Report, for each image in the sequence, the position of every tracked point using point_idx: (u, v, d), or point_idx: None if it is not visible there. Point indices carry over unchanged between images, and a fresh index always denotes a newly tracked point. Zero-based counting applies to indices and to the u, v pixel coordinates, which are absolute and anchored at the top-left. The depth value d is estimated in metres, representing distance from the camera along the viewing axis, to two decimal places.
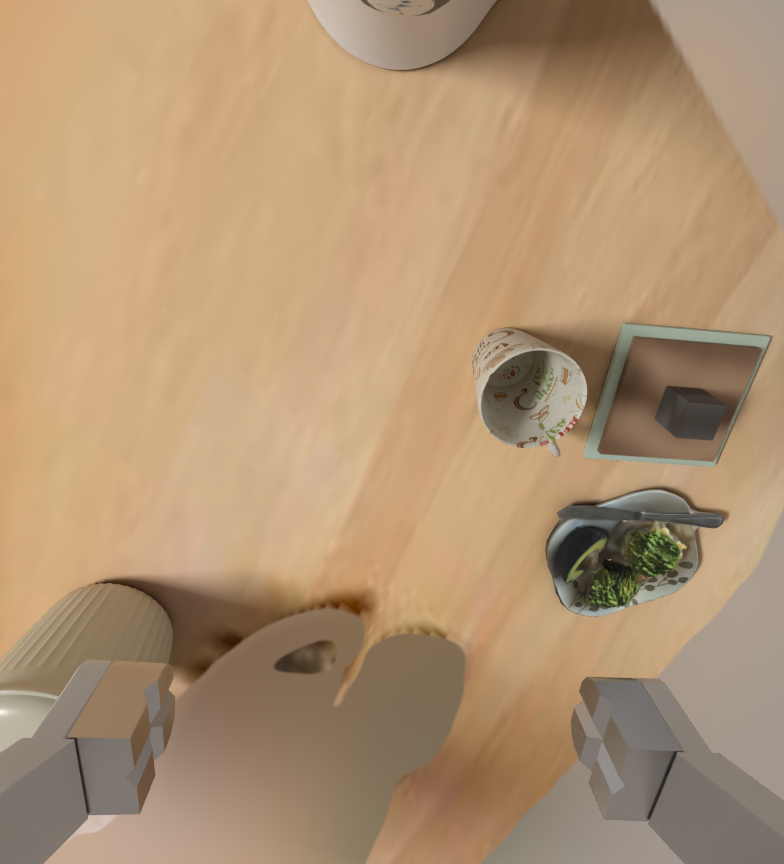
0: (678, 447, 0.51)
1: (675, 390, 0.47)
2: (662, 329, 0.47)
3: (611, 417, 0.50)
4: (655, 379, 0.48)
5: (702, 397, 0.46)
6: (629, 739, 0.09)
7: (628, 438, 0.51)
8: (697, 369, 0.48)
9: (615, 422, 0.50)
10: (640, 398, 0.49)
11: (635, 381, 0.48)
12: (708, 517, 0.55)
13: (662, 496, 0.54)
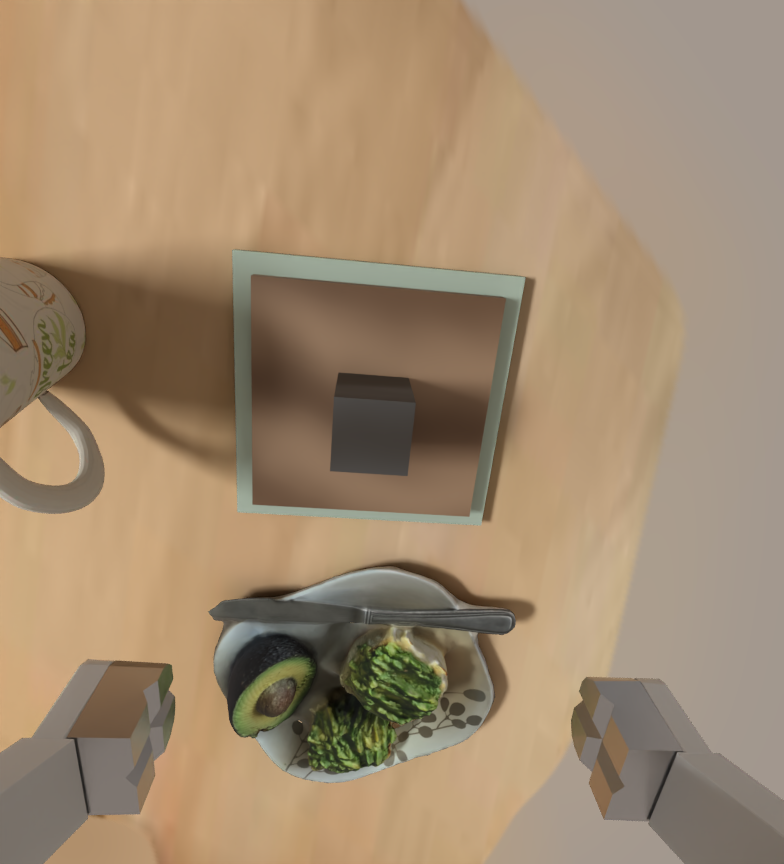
0: (397, 491, 0.28)
1: (342, 379, 0.24)
2: (308, 261, 0.24)
3: (252, 435, 0.26)
4: (314, 360, 0.25)
5: (381, 390, 0.23)
6: (629, 739, 0.09)
7: (297, 475, 0.27)
8: (389, 341, 0.25)
9: (261, 444, 0.27)
10: (295, 398, 0.26)
11: (274, 365, 0.25)
12: (487, 616, 0.31)
13: (395, 580, 0.30)
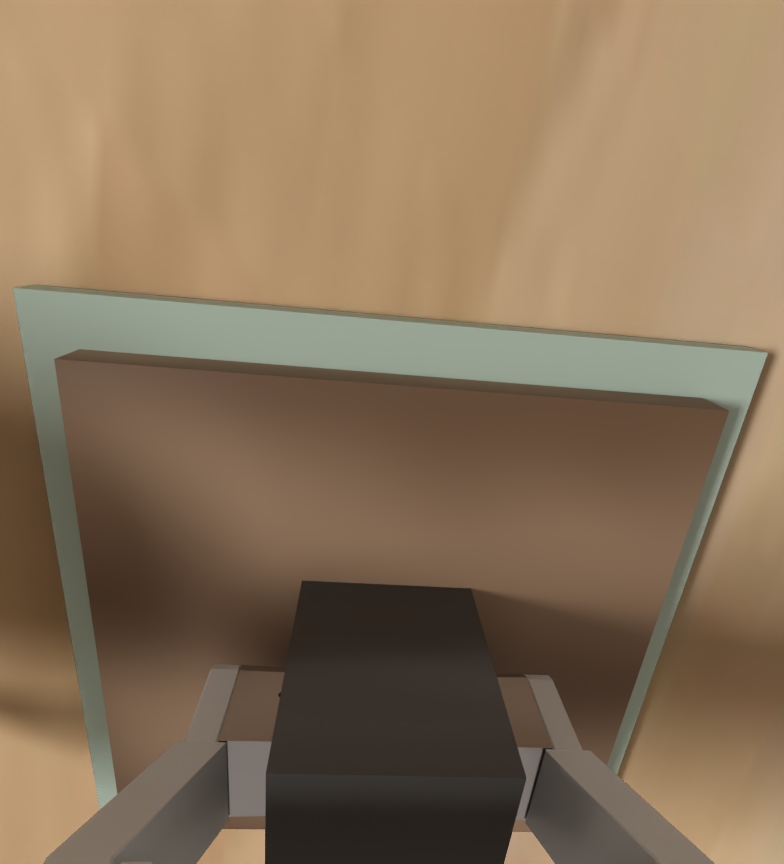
0: None
1: (309, 620, 0.09)
2: (219, 316, 0.09)
3: (107, 704, 0.12)
4: (241, 556, 0.10)
5: (413, 686, 0.08)
6: None
7: None
8: (428, 510, 0.10)
9: (130, 724, 0.12)
10: (200, 635, 0.11)
11: (143, 567, 0.10)
12: None
13: None
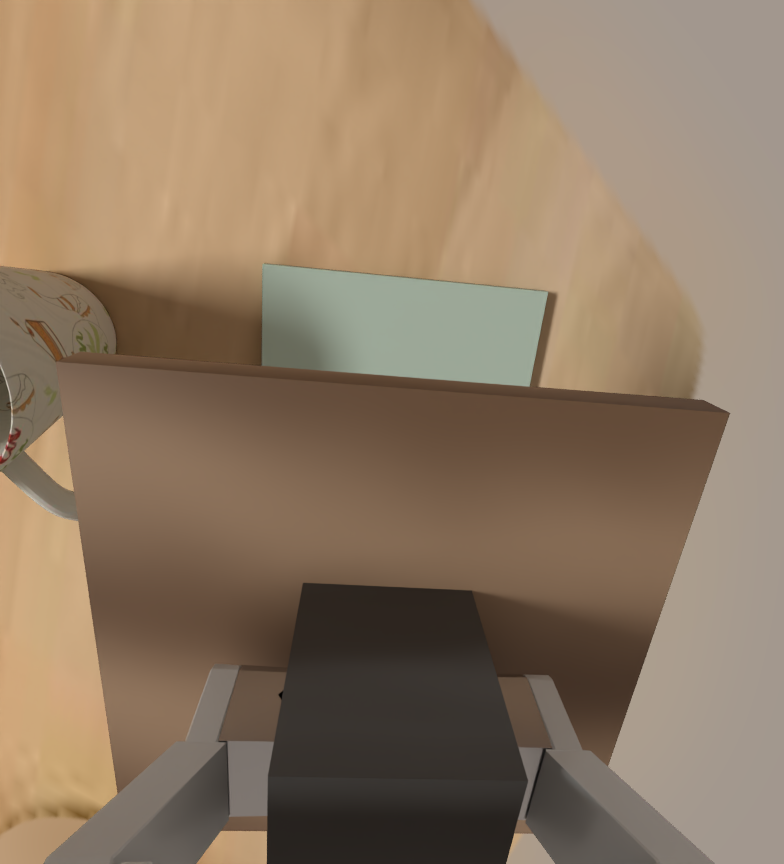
0: None
1: (310, 623, 0.09)
2: (336, 275, 0.25)
3: (107, 707, 0.11)
4: (242, 558, 0.10)
5: (415, 689, 0.08)
6: None
7: None
8: (429, 513, 0.10)
9: (131, 726, 0.12)
10: (201, 637, 0.11)
11: (144, 569, 0.10)
12: None
13: None
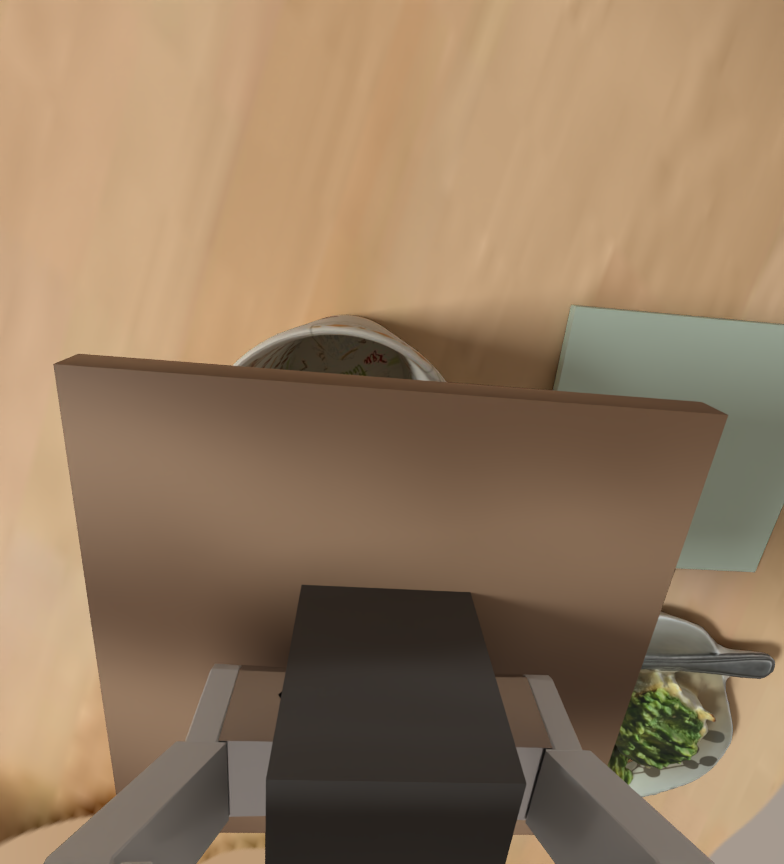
0: None
1: (308, 625, 0.09)
2: (648, 317, 0.24)
3: (106, 709, 0.11)
4: (241, 560, 0.10)
5: (413, 690, 0.08)
6: None
7: None
8: (427, 515, 0.10)
9: (129, 728, 0.12)
10: (200, 639, 0.11)
11: (143, 571, 0.10)
12: (748, 660, 0.31)
13: (665, 626, 0.30)
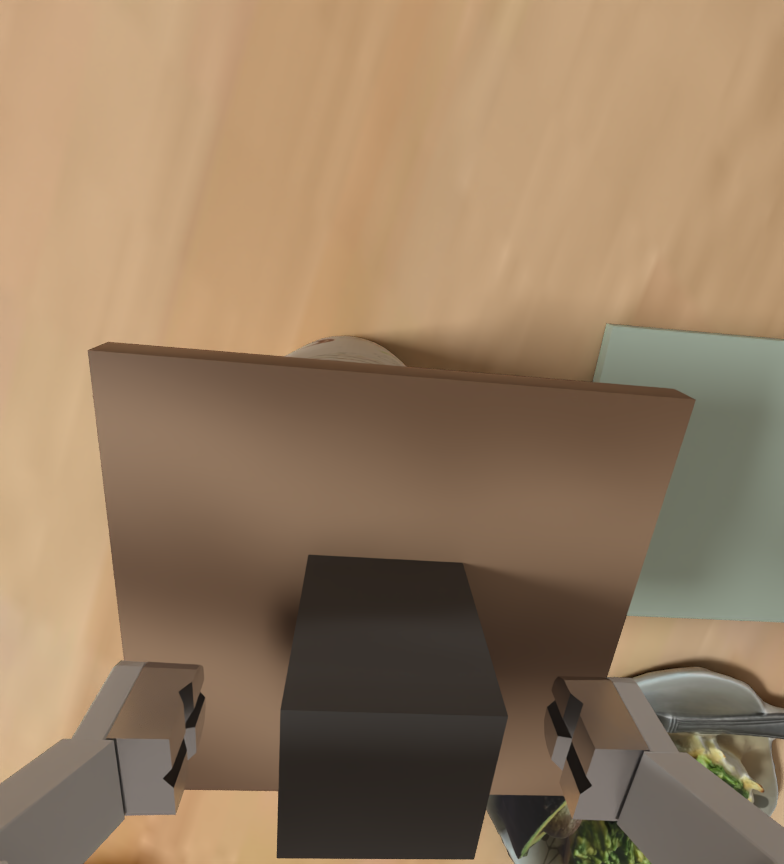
0: None
1: (315, 588, 0.10)
2: (696, 338, 0.20)
3: None
4: (253, 532, 0.11)
5: (409, 642, 0.09)
6: (596, 738, 0.09)
7: (228, 739, 0.13)
8: (424, 490, 0.11)
9: None
10: (214, 606, 0.12)
11: (164, 541, 0.11)
12: None
13: (707, 684, 0.27)
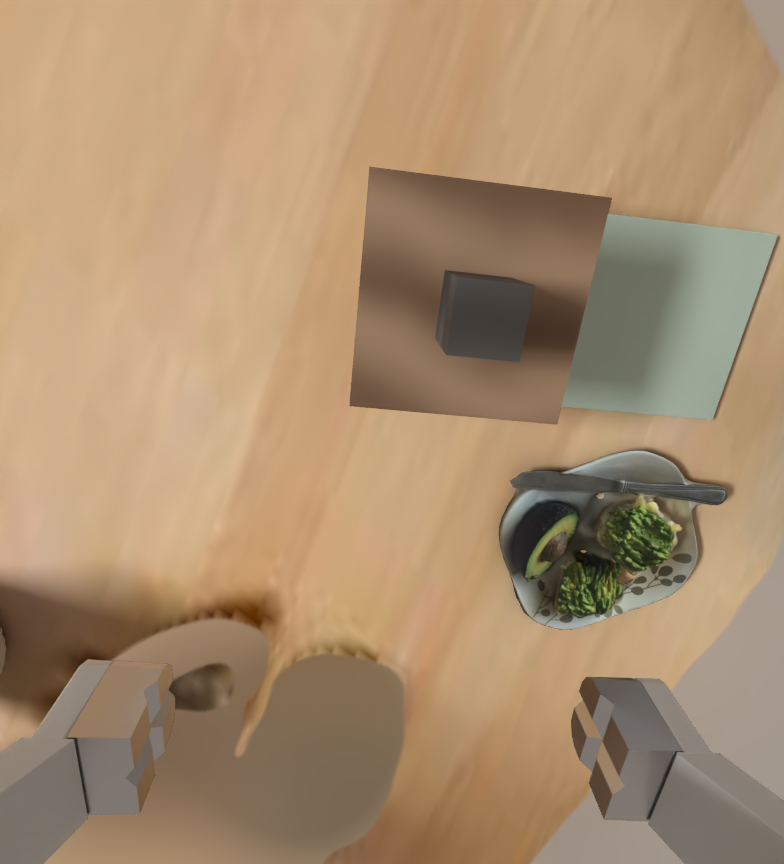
0: (490, 396, 0.29)
1: (453, 272, 0.25)
2: (635, 220, 0.35)
3: None
4: (422, 257, 0.26)
5: (496, 279, 0.24)
6: (629, 739, 0.09)
7: (395, 376, 0.28)
8: (496, 238, 0.26)
9: (364, 343, 0.27)
10: (400, 296, 0.26)
11: (384, 260, 0.26)
12: (708, 489, 0.42)
13: (647, 459, 0.42)
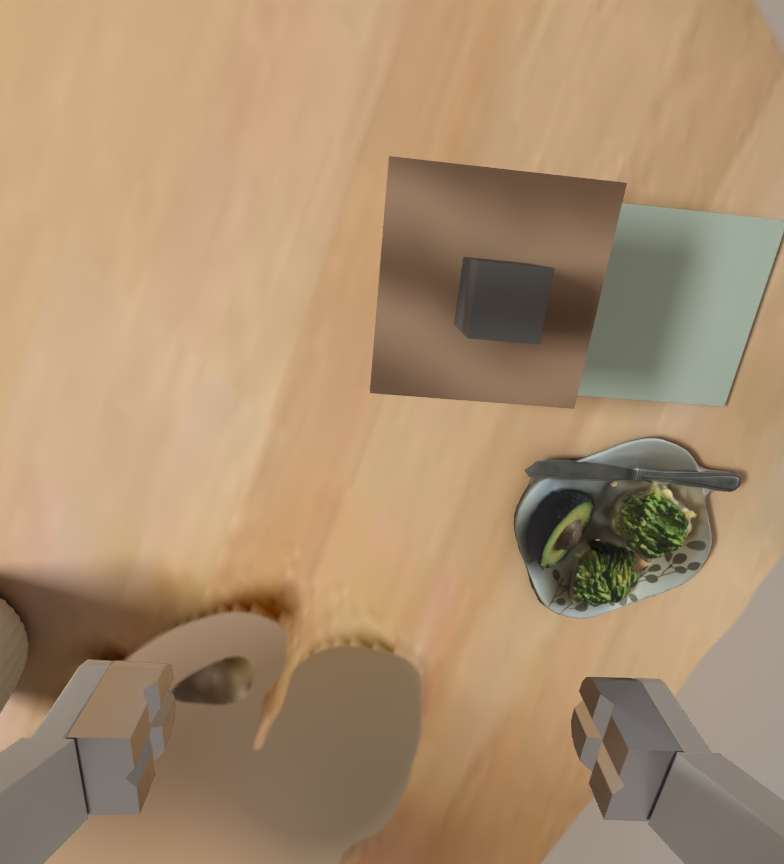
0: (508, 381, 0.29)
1: (472, 258, 0.26)
2: (646, 208, 0.36)
3: (376, 321, 0.28)
4: (441, 244, 0.26)
5: (515, 263, 0.24)
6: (629, 739, 0.09)
7: (415, 363, 0.29)
8: (514, 225, 0.26)
9: (384, 330, 0.28)
10: (420, 283, 0.27)
11: (404, 248, 0.26)
12: (721, 476, 0.43)
13: (660, 447, 0.42)
